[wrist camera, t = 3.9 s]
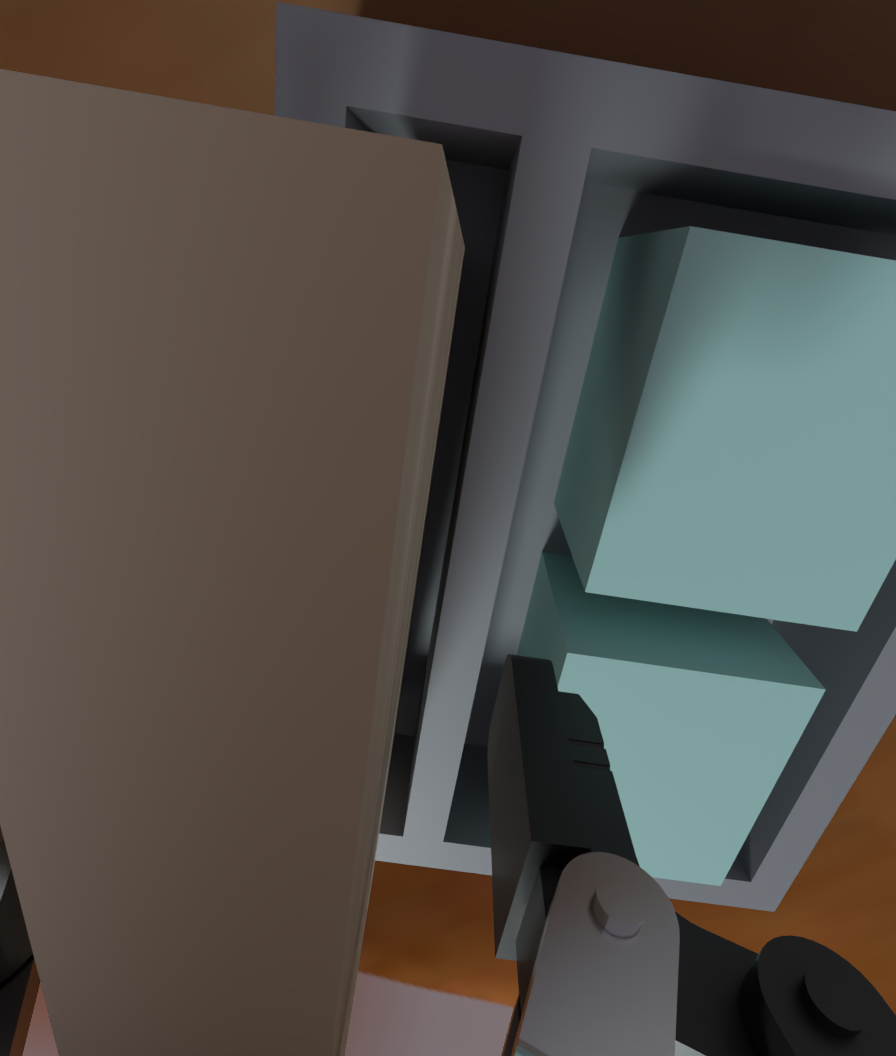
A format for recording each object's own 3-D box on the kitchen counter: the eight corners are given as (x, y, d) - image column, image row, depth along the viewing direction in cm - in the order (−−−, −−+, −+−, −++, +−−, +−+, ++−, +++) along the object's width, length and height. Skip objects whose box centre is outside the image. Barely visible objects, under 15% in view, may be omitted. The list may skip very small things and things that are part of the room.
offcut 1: (553, 503, 17) (585, 591, 12) (617, 237, 14) (690, 226, 9) (753, 533, 17) (856, 631, 13) (858, 278, 14) (1042, 285, 10)
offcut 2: (499, 726, 20) (508, 858, 16) (541, 551, 18) (567, 652, 13) (665, 748, 21) (720, 886, 16) (734, 580, 18) (825, 689, 13)
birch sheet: (354, 688, 20) (155, 1435, 7) (400, 239, 14) (-197, 33, 1) (400, 694, 20) (283, 1447, 7) (465, 249, 14) (440, 144, 1)
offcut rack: (304, 721, 22) (260, 845, 18) (341, 90, 14) (276, 2, 9) (710, 776, 23) (774, 911, 18) (980, 200, 14) (1229, 170, 10)
